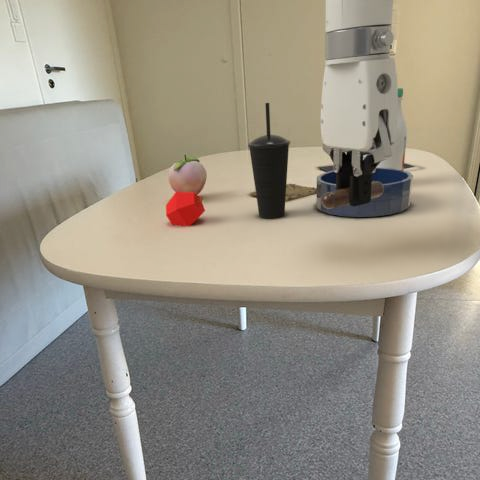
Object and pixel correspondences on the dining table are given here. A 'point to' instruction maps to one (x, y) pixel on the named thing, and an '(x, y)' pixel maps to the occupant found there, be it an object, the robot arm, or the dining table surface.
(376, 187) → the stick
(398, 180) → the bowl
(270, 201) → the drinking cup
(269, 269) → the dining table surface
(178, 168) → the decorative fruit
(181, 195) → the red faceted polyhedron
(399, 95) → the milk bottle
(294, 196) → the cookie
